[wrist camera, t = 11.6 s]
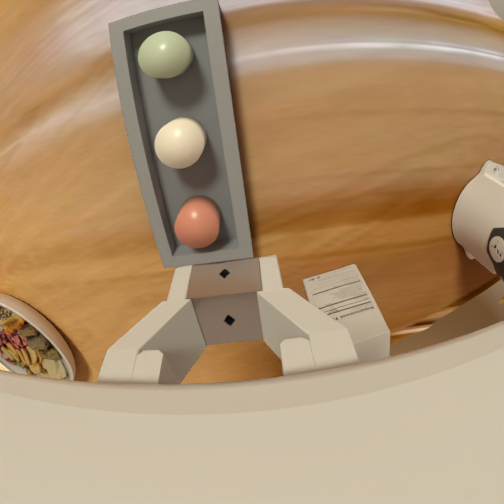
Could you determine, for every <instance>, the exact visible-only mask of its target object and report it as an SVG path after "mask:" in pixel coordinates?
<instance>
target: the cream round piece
mask: <svg viewBox="0 0 504 504" xmlns="http://www.w3.org/2000/svg"><path fill="white" fill-rule="evenodd" d="M206 142H207V133H206V130H205V128H204V126H203V125H202V123H201V122H200V121H198V120H197V119H195V118H192V117H187V116H183V117H178V118H176V119H174V120H172V121H171V122H169V123H168V124H166V125H165V126H163V127H162V128H161V129H160V130H159V132H158V133H157V135H156V138H155V144H154V145H155V152H156V154H157V156H158V158H159V159H160V161H161V162H162V163H164V164H165V165H167V166H169V167H171V168H176V169H181V168H186V167H189V166H191V165H192V164H194V163H195V162H196V161H197V160H198V159H199V157H200V156H201V154H202V152H203V150H204V148H205V145H206Z"/></svg>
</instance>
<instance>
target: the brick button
mask: <svg viewBox="0 0 504 504" xmlns="http://www.w3.org/2000/svg"><path fill="white" fill-rule="evenodd" d="M220 215H221V213H220V209H219V206H218V205H217V203H216V202H215V201H214V200H213V199H211V198H209V197H207V196H203V195H196V196H192V197H190V198H188V199H187V200H186V201H185V202H184V203H183V204H182V206H181V209H180V211H179V214H178V216H177V219H176V221H175V226H174V228H175V233H176V236H177V237H178V239H179V240H180V241H181V242H182V243H183V244H185V245H187V246H189V247H192V248H204V247H207V246H209V245H210V244H212V243H213V242H214V241H215V240H216V238H217V236H218V233H219V225H220Z"/></svg>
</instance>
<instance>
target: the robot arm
mask: <svg viewBox="0 0 504 504" xmlns="http://www.w3.org/2000/svg"><path fill="white" fill-rule="evenodd" d="M452 230H453V235H454V237H455V239H456V241H457V242H458V243H459V244H460V245H461V246H462V247H463V248H464V250H465V254H466V256H467V257H468V258H469V259H474V258H475V259H476V260H478V261H479V262H480V263H481V264H482V265H483V266H484V267H486V268H487V269H488V270H489V271H490V272H491V273H493V274H496V273H497V274H498V275H499V276H500V278H501V279H502V281H503V282H504V166H503V165H501V164H498V163H496V162H493V161H490V160H488V161H487V162H486V163H485V164H484V166H483V167H482V169H481V171H480V173H479V174H478V175H477V176H476V177H475V178H474V179H473V180H471V181H470V182H469V183H468V184H467V186H466V187H465V188H464V190H463V191H462V193H461V194H460V196H459V198H458V200H457V203H456V205H455V209H454V212H453V218H452ZM259 262H260V263H259ZM260 270H261V271H260ZM254 340H264V342H265V343H266V344H267V345H268V346H269V347H270V348H271V349H272V351H273V352H274V353H275V354H276V355H277V356H278V357H279V358H280V359H281V363H282V376H281V377H273V378H264V379H255V380H244V381H232V382H218V383H198V384H180V383H181V382H182V380H183V379H184V378H185V376H186V375H187V373H188V372H189V371H190V369H191V368H192V366H193V365H194V364H195V362H196V361H197V359H198V358H199V357H200V355H201V354H202V353H203V351H204V350H205V348H206V347H207V346H206V345H212V344H222V343H230V342H241V341H254ZM0 504H504V320H503V321H501V322H498V323H496V324H493V325H490V326H488V327H485V328H482V329H480V330H477V331H474V332H471V333H468V334H466V335H463V336H460V337H457V338H454V339H450V340H447V341H444V342H441V343H438V344H434V345H431V346H428V347H424V348H421V349H417V350H414V351H410V352H406V353H402V354H398V355H394V356H390V357H386V358H382V359H378V360H373V361H369V362H364V363H359V360H358V357H357V354H356V351H355V348H354V346H353V343H352V340H351V337H350V334H349V332H348V329H347V328H346V327H344V326H343V325H341V324H340V323H338V322H337V321H336V320H334V319H333V318H331V317H330V316H328V315H327V314H325V313H324V312H323V311H321V310H320V309H318V308H317V307H315V306H314V305H312V304H311V303H310V302H308V301H307V300H305V299H304V298H302V297H301V296H299V295H298V294H297V293H295V292H294V291H292V290H291V289H289V288H283V284H282V279H281V274H280V269H279V264H278V259H277V256H276V255H270V256H264V257H258V258H251V259H244V260H238V261H231V262H218V263H208V264H197V265H188V266H180V267H177V268H176V269H175V273H174V276H173V280H172V284H171V287H170V291H169V295H168V299H167V301H163V302H161V303H160V304H159V305H158V306H157V307H155V308H154V309H153V310H152V311H151V312H150V313H149V314H147V315H146V316H145V317H144V318H143V319H142V320H141V321H139V322H138V323H137V324H136V325H135V326H134V327H133V328H132V329H130V330H129V331H128V332H127V333H126V334H125V335H124V336H122V337H121V338H120V339H119V340H118V341H117V342H116V343H115V344H113V345H112V346H111V347H110V348H109V349H108V350H107V353H106V356H105V359H104V362H103V365H102V368H101V371H100V374H99V377H98V380H97V382H84V381H73V380H64V379H55V378H47V377H39V376H33V375H26V374H20V373H14V372H9V371H3V370H0Z"/></svg>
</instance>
